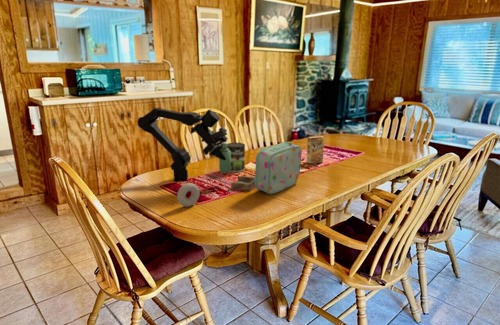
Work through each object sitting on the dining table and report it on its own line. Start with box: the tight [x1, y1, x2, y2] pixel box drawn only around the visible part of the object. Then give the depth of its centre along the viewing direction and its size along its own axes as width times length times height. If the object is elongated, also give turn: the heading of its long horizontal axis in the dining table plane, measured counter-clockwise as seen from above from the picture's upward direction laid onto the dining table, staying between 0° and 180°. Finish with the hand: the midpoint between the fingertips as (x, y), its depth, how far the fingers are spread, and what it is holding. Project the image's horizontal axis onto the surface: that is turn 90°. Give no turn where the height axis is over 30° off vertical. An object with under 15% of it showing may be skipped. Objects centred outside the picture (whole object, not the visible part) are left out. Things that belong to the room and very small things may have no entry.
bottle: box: [218, 141, 232, 174], centre depth 168 cm, size 6×6×14 cm
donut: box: [176, 182, 200, 208], centre depth 144 cm, size 10×4×10 cm, turn 131°
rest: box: [230, 175, 255, 192], centre depth 168 cm, size 10×11×3 cm
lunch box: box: [254, 141, 302, 195], centre depth 164 cm, size 27×10×21 cm, turn 141°
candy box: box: [306, 135, 325, 164], centre depth 206 cm, size 9×4×15 cm, turn 107°
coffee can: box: [227, 142, 246, 173], centre depth 193 cm, size 10×10×14 cm
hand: (227, 158), depth 167 cm, fingers closed on bottle, 6 cm apart
